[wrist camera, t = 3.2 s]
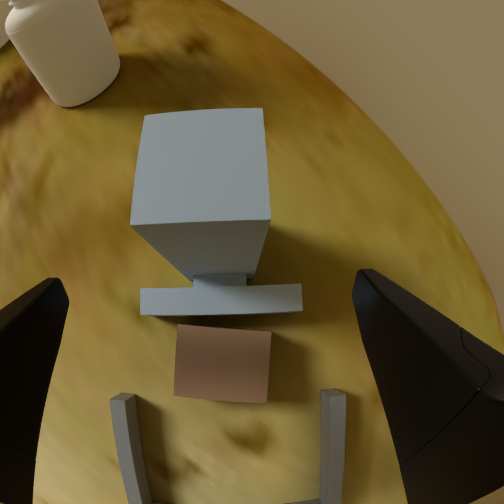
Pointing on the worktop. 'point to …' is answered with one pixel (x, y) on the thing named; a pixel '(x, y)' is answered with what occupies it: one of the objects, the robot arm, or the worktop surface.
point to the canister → (4, 20)
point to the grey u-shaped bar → (328, 500)
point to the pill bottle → (64, 47)
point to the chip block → (222, 363)
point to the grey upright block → (207, 212)
